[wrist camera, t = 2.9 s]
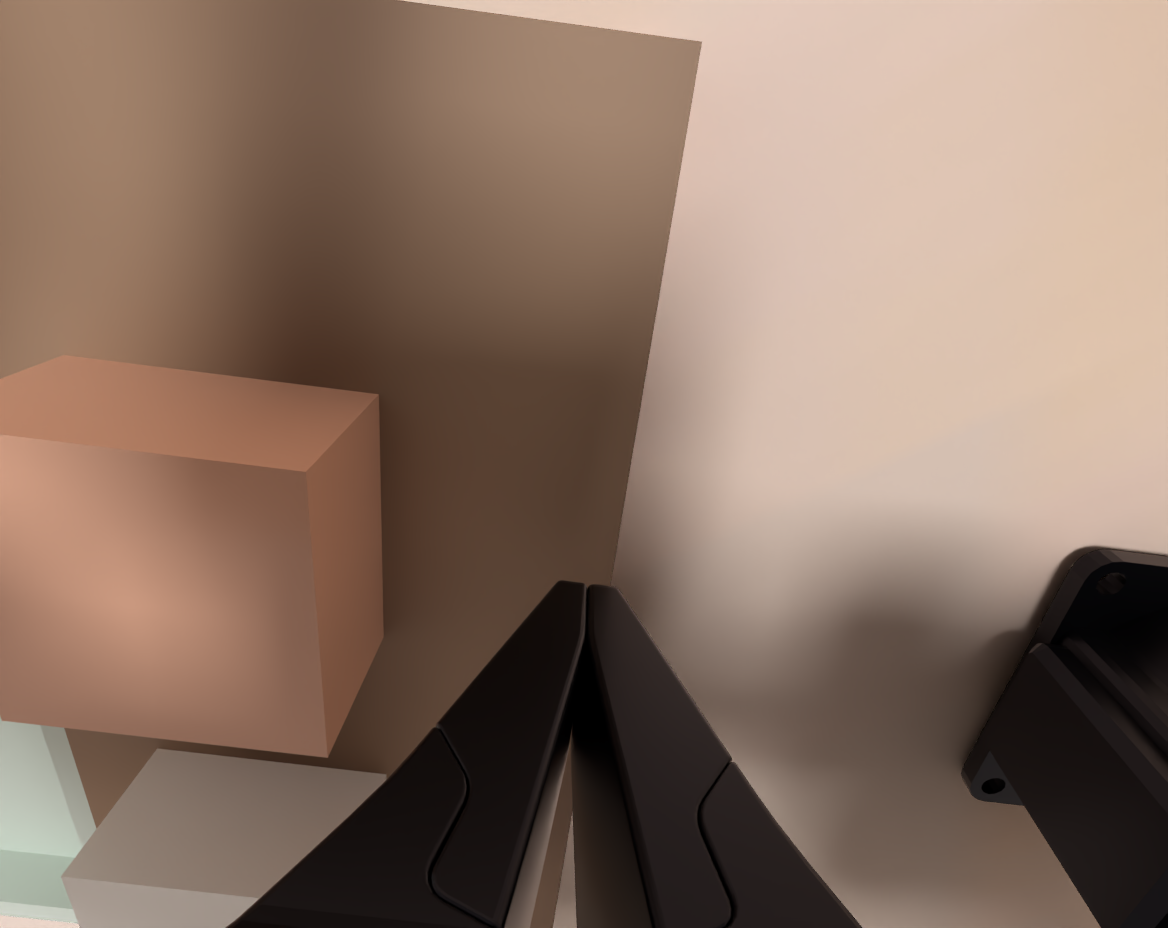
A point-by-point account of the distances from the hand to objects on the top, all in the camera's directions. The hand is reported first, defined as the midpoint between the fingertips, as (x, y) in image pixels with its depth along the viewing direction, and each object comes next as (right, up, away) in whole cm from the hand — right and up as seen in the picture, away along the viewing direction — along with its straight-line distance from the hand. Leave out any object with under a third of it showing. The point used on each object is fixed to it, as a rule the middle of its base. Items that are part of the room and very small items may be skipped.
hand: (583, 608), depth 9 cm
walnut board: (-5, -1, +4) cm, 6 cm away
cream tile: (-6, -6, +5) cm, 10 cm away
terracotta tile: (-5, +1, +1) cm, 6 cm away
